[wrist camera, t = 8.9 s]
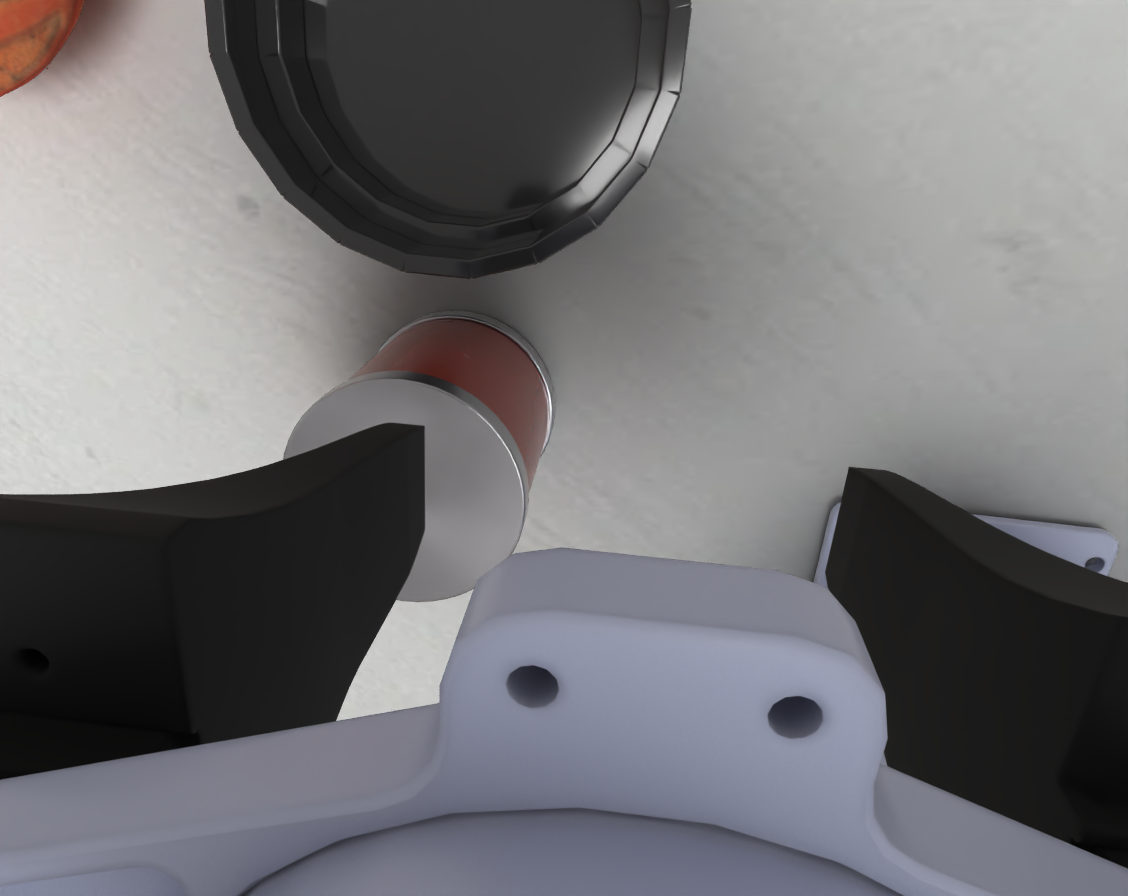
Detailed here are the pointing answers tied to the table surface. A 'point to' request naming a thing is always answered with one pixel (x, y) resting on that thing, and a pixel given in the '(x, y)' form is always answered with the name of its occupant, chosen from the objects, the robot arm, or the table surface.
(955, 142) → the table surface
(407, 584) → the tin can
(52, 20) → the pot
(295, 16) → the pan
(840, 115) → the table surface
